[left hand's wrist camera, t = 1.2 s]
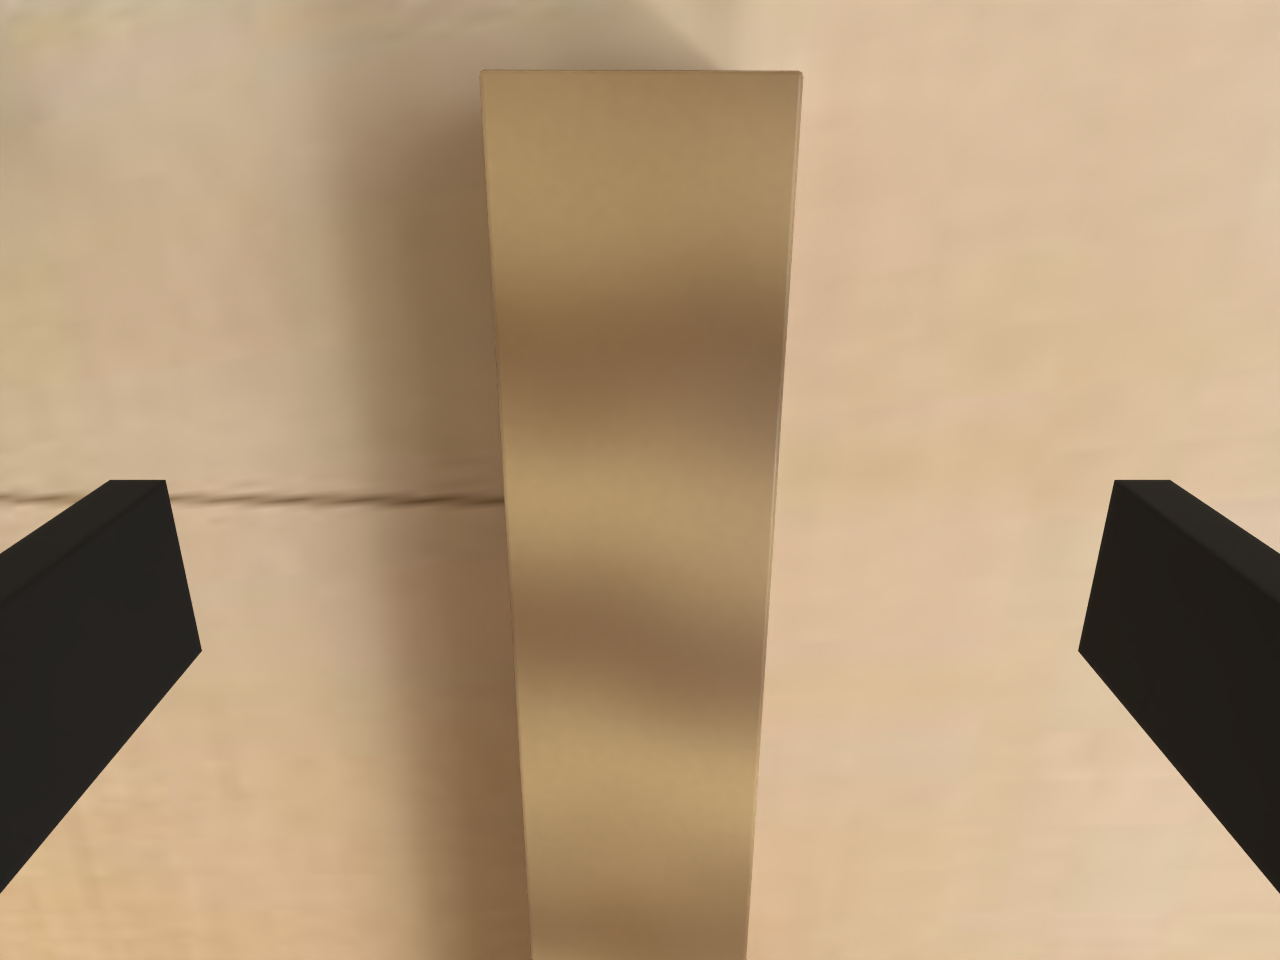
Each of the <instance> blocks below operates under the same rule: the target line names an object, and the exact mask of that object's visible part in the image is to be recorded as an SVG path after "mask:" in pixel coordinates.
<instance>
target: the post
mask: <svg viewBox="0 0 1280 960" xmlns="http://www.w3.org/2000/svg"><path fill="white" fill-rule="evenodd" d="M802 88H803V74H802V72H800V71H698V70H483V71H481V73H480V92H481V109H482V126H483V144H484V161H485V178H486V195H487V212H488V229H489V246H490V263H491V280H492V297H493V314H494V331H495V348H496V365H497V382H498V400H499V417H500V434H501V451H502V468H503V485H504V502H505V519H506V536H507V553H508V570H509V587H510V604H511V621H512V638H513V655H514V673H515V690H516V707H517V724H518V741H519V758H520V775H521V792H522V809H523V826H524V843H525V860H526V877H527V894H528V911H529V928H530V946H531V960H746V955H747V940H748V924H749V909H750V893H751V878H752V862H753V847H754V831H755V816H756V800H757V785H758V769H759V754H760V738H761V723H762V707H763V692H764V676H765V661H766V645H767V630H768V614H769V599H770V583H771V568H772V552H773V537H774V521H775V506H776V490H777V475H778V459H779V444H780V428H781V413H782V397H783V382H784V366H785V351H786V335H787V320H788V304H789V289H790V274H791V258H792V243H793V227H794V212H795V196H796V181H797V165H798V150H799V134H800V119H801V103H802Z"/></svg>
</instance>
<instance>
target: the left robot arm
mask: <svg viewBox="0 0 1280 960" xmlns="http://www.w3.org/2000/svg"><path fill="white" fill-rule="evenodd" d="M201 651H202V649H201V645H200V640H199V635H198V630H197V626H196V621H195V616H194V612H193V607H192V602H191V598H190V593H189V588H188V584H187V579H186V574H185V569H184V565H183V560H182V555H181V551H180V546H179V541H178V537H177V532H176V527H175V523H174V518H173V513H172V509H171V504H170V499H169V494H168V490H167V485H166V480H109V481H108V482H106V483H105V484H103V485H102V486H100V487H99V488H97V489H96V490H94V491H93V492H91V493H90V494H88V495H87V496H85V497H84V498H82V499H81V500H80V501H78V502H77V503H75V504H74V505H72V506H71V507H69V508H68V509H66V510H65V511H63V512H62V513H60V514H59V515H57V516H56V517H54V518H53V519H51V520H50V521H48V522H47V523H45V524H44V525H42V526H41V527H39V528H38V529H36V530H35V531H33V532H32V533H30V534H29V535H27V536H26V537H24V538H23V539H22V540H20V541H19V542H17V543H16V544H14V545H13V546H11V547H10V548H8V549H7V550H5V551H4V552H2V553H1V554H0V893H1V892H2V891H3V890H4V888H5V887H6V886H7V885H8V884H9V882H10V881H11V880H12V879H13V878H14V876H15V875H16V874H17V873H18V872H19V870H20V869H21V868H22V867H23V866H24V864H25V863H26V862H27V861H28V860H29V858H30V857H31V856H32V855H33V854H34V852H35V851H36V850H37V849H38V847H39V846H40V845H41V844H42V843H43V841H44V840H45V839H46V838H47V837H48V835H49V834H50V833H51V832H52V831H53V829H54V828H55V827H56V826H57V825H58V823H59V822H60V821H61V820H62V819H63V817H64V816H65V815H66V814H67V813H68V811H69V810H70V809H71V808H72V807H73V805H74V804H75V803H76V802H77V801H78V799H79V798H80V797H81V796H82V795H83V793H84V792H85V791H86V790H87V789H88V787H89V786H90V785H91V784H92V783H93V781H94V780H95V779H96V778H97V776H98V775H99V774H100V773H101V772H102V770H103V769H104V768H105V767H106V766H107V764H108V763H109V762H110V761H111V760H112V758H113V757H114V756H115V755H116V754H117V752H118V751H119V750H120V749H121V748H122V746H123V745H124V744H125V743H126V742H127V740H128V739H129V738H130V737H131V736H132V734H133V733H134V732H135V731H136V730H137V728H138V727H139V726H140V725H141V724H142V722H143V721H144V720H145V719H146V718H147V716H148V715H149V714H150V713H151V711H152V710H153V709H154V708H155V707H156V705H157V704H158V703H159V702H160V701H161V699H162V698H163V697H164V696H165V695H166V693H167V692H168V691H169V690H170V689H171V687H172V686H173V685H174V684H175V683H176V681H177V680H178V679H179V678H180V677H181V675H182V674H183V673H184V672H185V671H186V669H187V668H188V667H189V666H190V665H191V663H192V662H193V661H194V660H195V659H196V657H197V656H198V655H199V654H200V653H201ZM1078 651H1079V653H1080V654H1081V655H1082V656H1083V657H1084V659H1085V660H1086V661H1087V662H1088V663H1089V665H1090V666H1091V667H1092V668H1093V669H1094V671H1095V672H1096V673H1097V674H1098V675H1099V677H1100V678H1101V679H1102V680H1103V681H1104V683H1105V684H1106V685H1107V686H1108V687H1109V689H1110V690H1111V691H1112V692H1113V693H1114V695H1115V696H1116V697H1117V698H1118V699H1119V701H1120V702H1121V703H1122V704H1123V705H1124V707H1125V708H1126V709H1127V710H1128V712H1129V713H1130V714H1131V715H1132V716H1133V718H1134V719H1135V720H1136V721H1137V722H1138V724H1139V725H1140V726H1141V727H1142V728H1143V730H1144V731H1145V732H1146V733H1147V734H1148V736H1149V737H1150V738H1151V739H1152V740H1153V742H1154V743H1155V744H1156V745H1157V746H1158V748H1159V749H1160V750H1161V751H1162V752H1163V754H1164V755H1165V756H1166V757H1167V758H1168V760H1169V761H1170V762H1171V763H1172V764H1173V766H1174V767H1175V768H1176V769H1177V770H1178V772H1179V773H1180V774H1181V775H1182V776H1183V778H1184V779H1185V780H1186V781H1187V783H1188V784H1189V785H1190V786H1191V787H1192V789H1193V790H1194V791H1195V792H1196V793H1197V795H1198V796H1199V797H1200V798H1201V799H1202V801H1203V802H1204V803H1205V804H1206V805H1207V807H1208V808H1209V809H1210V810H1211V811H1212V813H1213V814H1214V815H1215V816H1216V817H1217V819H1218V820H1219V821H1220V822H1221V823H1222V825H1223V826H1224V827H1225V828H1226V829H1227V831H1228V832H1229V833H1230V834H1231V835H1232V837H1233V838H1234V839H1235V840H1236V841H1237V843H1238V844H1239V845H1240V846H1241V847H1242V849H1243V850H1244V851H1245V852H1246V854H1247V855H1248V856H1249V857H1250V858H1251V860H1252V861H1253V862H1254V863H1255V864H1256V866H1257V867H1258V868H1259V869H1260V870H1261V872H1262V873H1263V874H1264V875H1265V876H1266V878H1267V879H1268V880H1269V881H1270V882H1271V884H1272V885H1273V886H1274V887H1275V888H1276V890H1277V891H1278V892H1279V893H1280V554H1279V553H1278V552H1276V551H1275V550H1273V549H1272V548H1270V547H1269V546H1267V545H1266V544H1264V543H1263V542H1261V541H1260V540H1258V539H1257V538H1256V537H1254V536H1253V535H1251V534H1250V533H1248V532H1247V531H1245V530H1244V529H1242V528H1241V527H1239V526H1238V525H1236V524H1235V523H1233V522H1232V521H1230V520H1229V519H1227V518H1226V517H1224V516H1223V515H1221V514H1220V513H1218V512H1217V511H1215V510H1214V509H1212V508H1211V507H1209V506H1208V505H1206V504H1205V503H1203V502H1202V501H1200V500H1199V499H1198V498H1196V497H1195V496H1193V495H1192V494H1190V493H1189V492H1187V491H1186V490H1184V489H1183V488H1181V487H1180V486H1178V485H1177V484H1175V483H1174V482H1172V481H1171V480H1114V485H1113V490H1112V494H1111V499H1110V504H1109V509H1108V513H1107V518H1106V523H1105V527H1104V532H1103V537H1102V541H1101V546H1100V551H1099V555H1098V560H1097V565H1096V569H1095V574H1094V579H1093V584H1092V588H1091V593H1090V598H1089V602H1088V607H1087V612H1086V616H1085V621H1084V626H1083V630H1082V635H1081V640H1080V645H1079V649H1078Z"/></svg>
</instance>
